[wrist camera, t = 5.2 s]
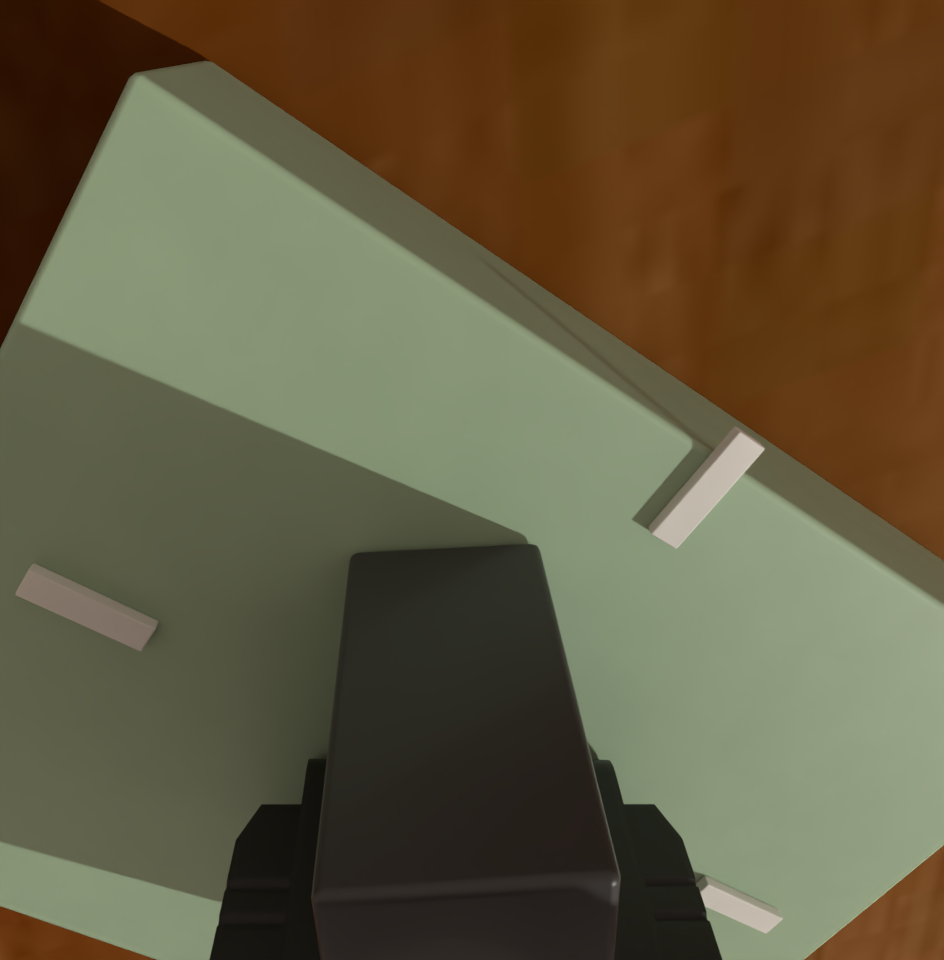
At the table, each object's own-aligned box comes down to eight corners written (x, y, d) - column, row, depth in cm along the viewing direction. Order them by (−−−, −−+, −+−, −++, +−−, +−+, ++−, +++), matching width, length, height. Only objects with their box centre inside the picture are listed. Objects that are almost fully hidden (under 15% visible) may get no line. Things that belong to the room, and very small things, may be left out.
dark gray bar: (349, 549, 9) (304, 935, 5) (539, 539, 9) (632, 911, 5) (388, 953, 12) (378, 1393, 8) (533, 943, 12) (590, 1375, 8)
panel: (-111, 685, 13) (-249, 859, 11) (220, 27, 10) (144, 27, 7) (571, 959, 17) (602, 1140, 15) (992, 564, 14) (1141, 703, 11)
